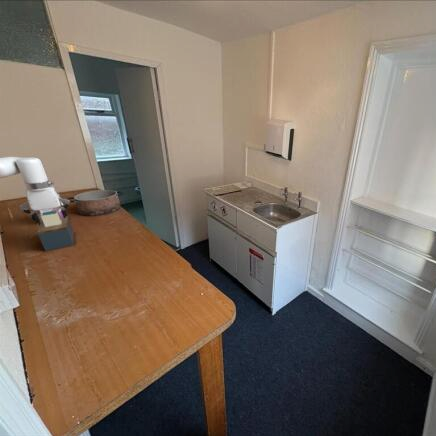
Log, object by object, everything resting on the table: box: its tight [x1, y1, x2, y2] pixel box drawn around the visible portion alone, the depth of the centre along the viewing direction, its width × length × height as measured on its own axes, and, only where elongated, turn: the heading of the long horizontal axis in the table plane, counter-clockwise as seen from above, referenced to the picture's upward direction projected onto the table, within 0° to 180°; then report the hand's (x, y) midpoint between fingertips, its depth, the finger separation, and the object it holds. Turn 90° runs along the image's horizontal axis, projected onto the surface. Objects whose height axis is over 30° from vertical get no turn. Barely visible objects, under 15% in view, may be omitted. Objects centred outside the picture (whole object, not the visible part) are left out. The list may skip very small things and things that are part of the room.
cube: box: [41, 210, 62, 227], centre depth 113 cm, size 6×6×6 cm
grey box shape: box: [36, 215, 75, 252], centre depth 116 cm, size 10×16×10 cm, turn 39°
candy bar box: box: [35, 192, 68, 223], centre depth 136 cm, size 11×5×16 cm, turn 154°
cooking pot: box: [66, 189, 125, 217], centre depth 155 cm, size 30×22×11 cm
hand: (51, 219), depth 113 cm, fingers open, 9 cm apart
